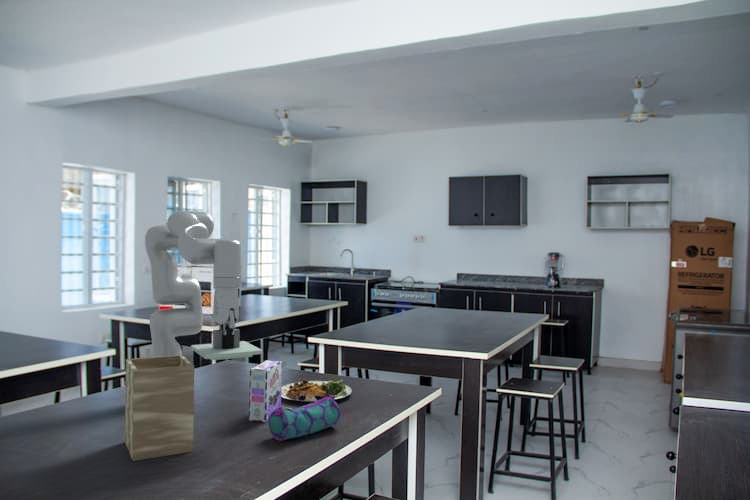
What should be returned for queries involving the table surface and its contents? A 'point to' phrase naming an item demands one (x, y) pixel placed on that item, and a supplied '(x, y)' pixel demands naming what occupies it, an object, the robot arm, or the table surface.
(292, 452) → the table surface
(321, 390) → the plate of food
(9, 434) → the table surface
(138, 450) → the crate
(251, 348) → the lid
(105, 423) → the table surface
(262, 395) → the candy box
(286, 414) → the pencil case
